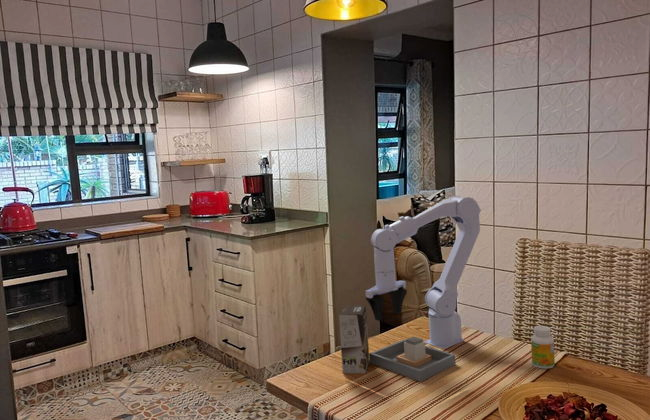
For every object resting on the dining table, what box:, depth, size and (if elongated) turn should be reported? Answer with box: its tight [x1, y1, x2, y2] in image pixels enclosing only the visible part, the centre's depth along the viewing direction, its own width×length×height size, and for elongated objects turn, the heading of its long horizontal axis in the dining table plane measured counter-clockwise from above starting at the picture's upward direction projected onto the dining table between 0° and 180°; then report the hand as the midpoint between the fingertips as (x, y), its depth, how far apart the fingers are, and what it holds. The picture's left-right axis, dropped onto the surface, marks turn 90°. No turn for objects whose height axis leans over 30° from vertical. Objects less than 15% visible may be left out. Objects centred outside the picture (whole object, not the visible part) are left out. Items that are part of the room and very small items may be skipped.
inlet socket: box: [396, 353, 432, 367], centre depth 139 cm, size 7×7×1 cm
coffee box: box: [338, 304, 370, 374], centre depth 137 cm, size 9×6×16 cm
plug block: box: [404, 336, 426, 362], centre depth 138 cm, size 4×4×6 cm
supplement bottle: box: [530, 325, 556, 369], centre depth 130 cm, size 5×5×10 cm
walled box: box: [369, 339, 457, 382], centre depth 136 cm, size 14×18×3 cm
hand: (387, 316), depth 148 cm, fingers open, 7 cm apart
